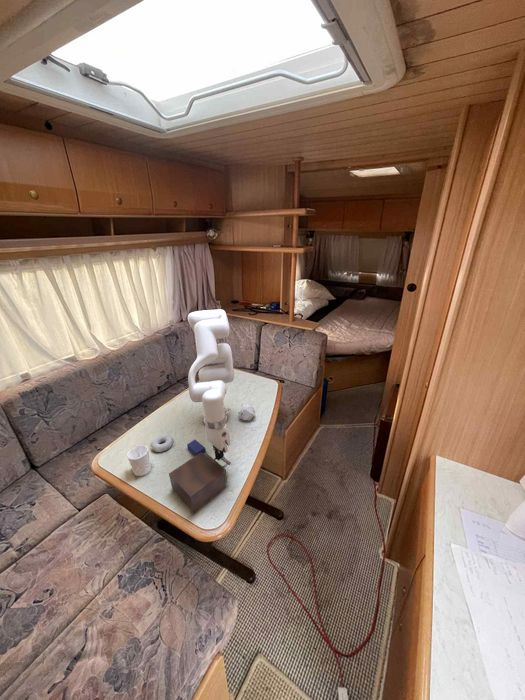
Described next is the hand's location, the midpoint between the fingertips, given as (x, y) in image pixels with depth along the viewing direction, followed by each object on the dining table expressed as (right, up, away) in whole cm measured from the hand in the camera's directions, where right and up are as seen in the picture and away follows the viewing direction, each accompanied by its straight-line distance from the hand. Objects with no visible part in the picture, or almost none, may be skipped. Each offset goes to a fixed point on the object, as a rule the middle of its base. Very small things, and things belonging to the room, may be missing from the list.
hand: (219, 457), depth 111 cm
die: (+9, +7, +36) cm, 38 cm away
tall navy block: (-13, -3, +15) cm, 20 cm away
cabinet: (-8, -11, -4) cm, 14 cm away
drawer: (-4, -9, -1) cm, 10 cm away
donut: (-30, -2, +19) cm, 36 cm away
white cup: (-34, -8, +6) cm, 35 cm away
